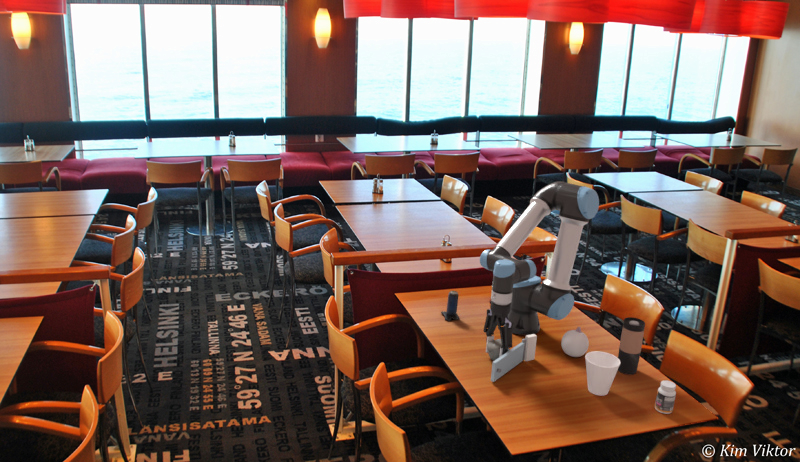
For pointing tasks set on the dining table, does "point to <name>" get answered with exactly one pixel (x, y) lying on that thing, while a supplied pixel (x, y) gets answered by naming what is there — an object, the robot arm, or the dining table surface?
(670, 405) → the pill bottle
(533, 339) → the tilted pink plank
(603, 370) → the cup
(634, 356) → the travel mug
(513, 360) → the door
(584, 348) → the ornament
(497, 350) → the stone
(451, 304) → the blue column with base
